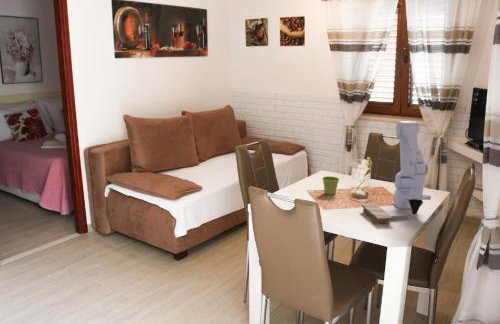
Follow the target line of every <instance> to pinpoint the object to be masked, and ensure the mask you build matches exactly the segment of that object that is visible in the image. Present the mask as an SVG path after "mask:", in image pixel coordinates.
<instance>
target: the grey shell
mask: <svg viewBox="0 0 500 324" xmlns="http://www.w3.org/2000/svg"><path fill="white" fill-rule="evenodd" d="M383 210H384V209H383ZM384 211H386V212H387V213H388V214H390V215H391V216H392V217H393V219H390V221H397V220H399V221H400V220H401V221H402V220H409V219H410V215H409V214H408V213H406V212H405V211H404V210H403V209H386V210H384Z"/></svg>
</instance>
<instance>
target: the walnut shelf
mask: <svg viewBox="0 0 500 324" xmlns="http://www.w3.org/2000/svg"><path fill="white" fill-rule="evenodd" d="M360 206H361V207H362V209H363V210H362V213H363V214H364V215H366V216H368V217H369V218H370V219H371V220H372V222H373V223H374V224H377V223H379V224H381V223H390V221H391V220H390V219H393V217H392V216H391V215H390V214H388V213H387V212H386V211H384V209H383V208H382V207H380V206H379V204H377V203H361V204H360Z"/></svg>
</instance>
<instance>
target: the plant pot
mask: <svg viewBox="0 0 500 324" xmlns="http://www.w3.org/2000/svg"><path fill="white" fill-rule="evenodd" d="M322 181H323V189H324V194H326V195H329V196H333V195H335V194H336V192H337V187H338V183H339V182H340V178H339V177H337V176H324V177H322Z"/></svg>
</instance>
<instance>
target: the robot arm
mask: <svg viewBox="0 0 500 324" xmlns="http://www.w3.org/2000/svg"><path fill="white" fill-rule="evenodd" d="M419 129H420V124H419V122H418V121H402V120H399V121H398V122H397V123H396V127H395V130H396V131H395V132H396V138H397V139H398V140H399V158H400V159H399V160H400V171H398V172H397V174H395V177H394V187H395V190H394V193H393V194H394V195H393V201H392V202H391V204H392V205H394V206H395V207H396V208H397V209H398V210H404V209H405V210H407V209H408V210H409V209H411V214H412V215H417V214H418V211H419V209H420V208H421V206H422V205H423V204H424V200H429V201H431V200H432V196H431V195H430V194H424V186H425V185H424V184H425V175H427V174H428V170H429V168H428V164H427V162H426V161H425V160H424V156H423V151H422V149H420V148H419V142H418V134H419V131H420V130H419Z"/></svg>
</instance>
